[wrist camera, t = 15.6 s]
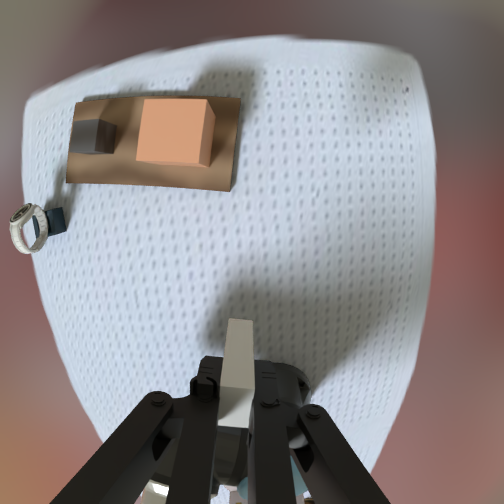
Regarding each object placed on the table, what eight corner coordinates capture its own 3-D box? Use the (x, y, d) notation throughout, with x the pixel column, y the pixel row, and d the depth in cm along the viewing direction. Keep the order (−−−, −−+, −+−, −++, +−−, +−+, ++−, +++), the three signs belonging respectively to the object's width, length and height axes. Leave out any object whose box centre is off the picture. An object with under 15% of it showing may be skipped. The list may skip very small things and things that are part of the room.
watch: (60, 196, 41) (20, 202, 30) (68, 240, 43) (30, 256, 32) (40, 203, 41) (0, 211, 30) (47, 245, 43) (10, 260, 32)
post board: (229, 191, 41) (225, 193, 34) (70, 182, 40) (44, 184, 33) (240, 101, 38) (239, 85, 31) (80, 104, 37) (56, 95, 30)
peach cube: (209, 167, 39) (198, 163, 30) (158, 164, 39) (135, 160, 30) (215, 116, 37) (206, 99, 28) (165, 115, 37) (144, 99, 28)
